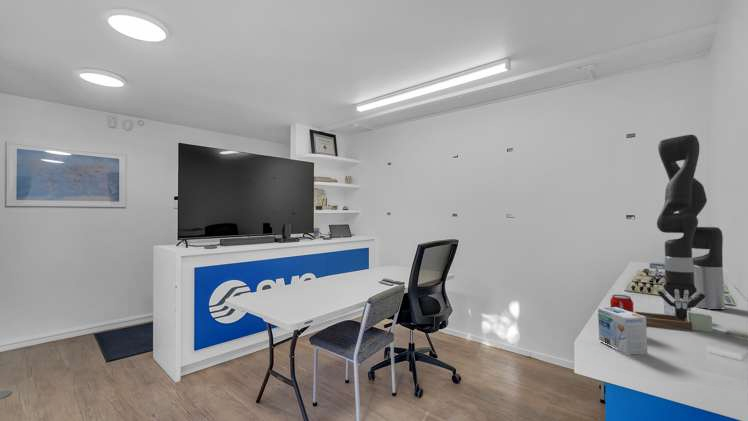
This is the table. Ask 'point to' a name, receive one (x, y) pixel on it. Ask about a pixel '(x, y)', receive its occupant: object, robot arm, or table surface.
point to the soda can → (622, 302)
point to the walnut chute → (665, 321)
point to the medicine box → (670, 309)
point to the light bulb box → (623, 330)
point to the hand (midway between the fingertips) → (681, 318)
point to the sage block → (700, 321)
